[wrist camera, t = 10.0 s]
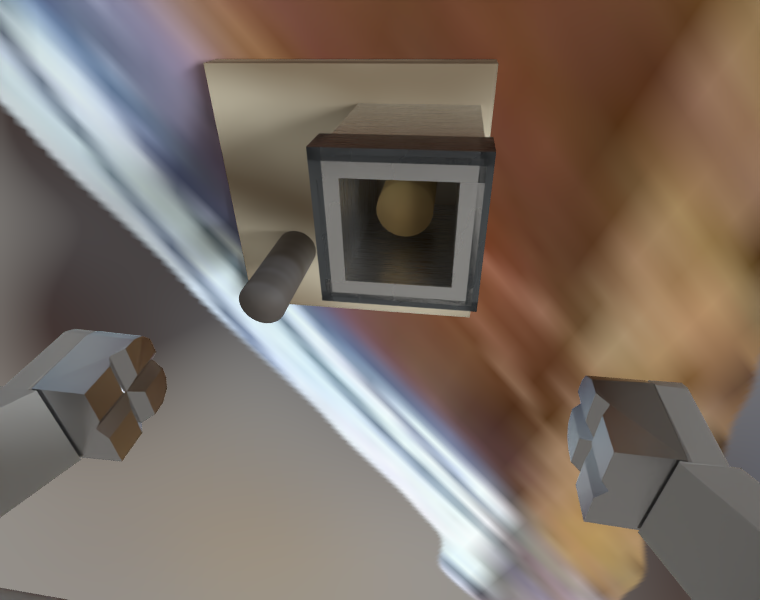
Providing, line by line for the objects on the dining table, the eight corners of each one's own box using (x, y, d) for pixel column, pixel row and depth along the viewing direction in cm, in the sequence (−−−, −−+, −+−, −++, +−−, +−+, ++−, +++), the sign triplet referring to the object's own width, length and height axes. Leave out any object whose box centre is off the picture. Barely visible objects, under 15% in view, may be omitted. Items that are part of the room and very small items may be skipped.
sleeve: (353, 98, 19) (305, 146, 13) (486, 99, 18) (496, 151, 13) (358, 218, 22) (322, 300, 16) (473, 224, 21) (476, 311, 16)
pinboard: (216, 59, 20) (133, 84, 15) (496, 59, 19) (508, 87, 14) (260, 289, 27) (213, 360, 22) (469, 304, 25) (470, 384, 20)
